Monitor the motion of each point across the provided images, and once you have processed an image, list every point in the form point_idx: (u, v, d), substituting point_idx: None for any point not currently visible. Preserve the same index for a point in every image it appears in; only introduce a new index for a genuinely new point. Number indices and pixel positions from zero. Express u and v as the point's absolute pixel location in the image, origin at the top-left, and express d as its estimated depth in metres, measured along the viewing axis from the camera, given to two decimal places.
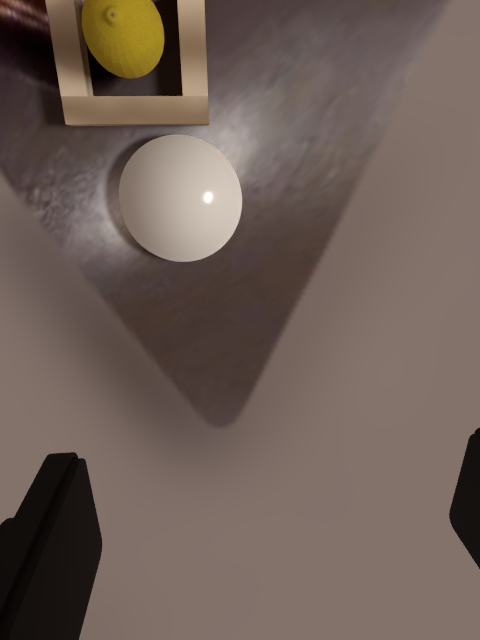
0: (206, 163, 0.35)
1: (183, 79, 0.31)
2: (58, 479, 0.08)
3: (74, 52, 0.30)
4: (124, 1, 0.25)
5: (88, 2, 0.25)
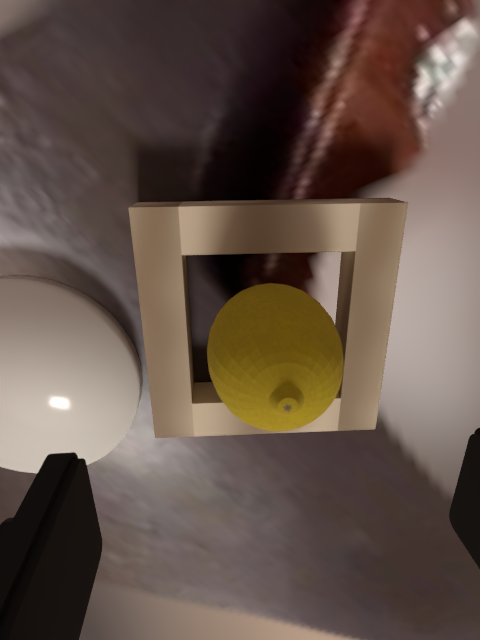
0: (97, 425, 0.21)
1: (215, 405, 0.20)
2: (58, 479, 0.08)
3: (249, 243, 0.17)
4: (308, 414, 0.14)
5: (311, 345, 0.13)
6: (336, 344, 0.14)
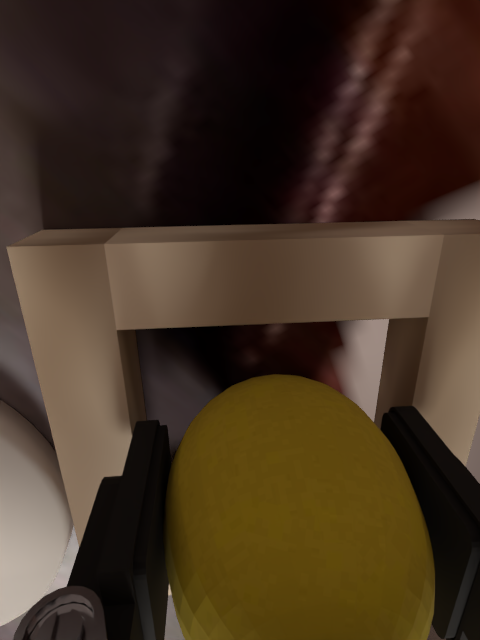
0: (1, 578, 0.13)
1: None
2: (152, 440, 0.09)
3: (240, 307, 0.09)
4: None
5: (385, 574, 0.06)
6: (425, 539, 0.07)
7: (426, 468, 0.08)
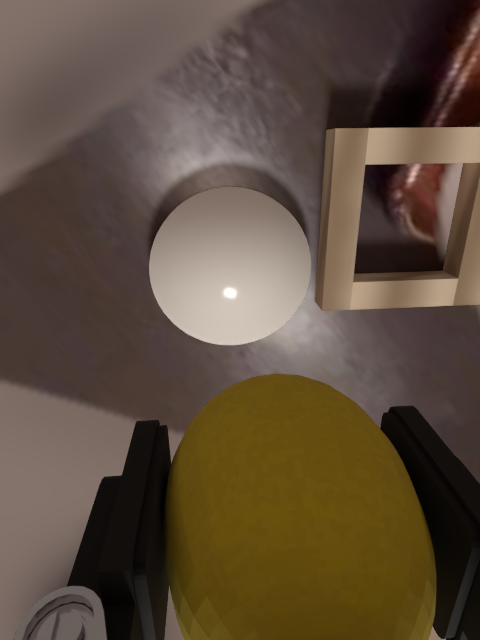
0: (276, 304, 0.28)
1: (369, 283, 0.27)
2: (152, 440, 0.09)
3: (412, 156, 0.24)
4: None
5: (386, 575, 0.06)
6: (426, 539, 0.07)
7: (426, 468, 0.08)
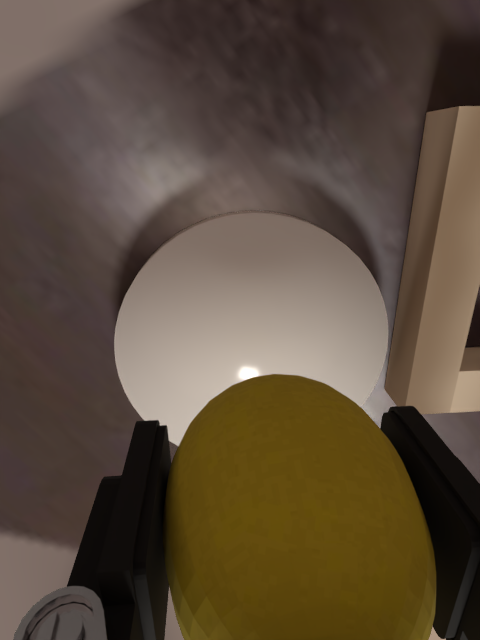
0: None
1: None
2: (152, 440, 0.09)
3: None
4: None
5: (386, 575, 0.06)
6: (426, 539, 0.07)
7: (426, 468, 0.08)
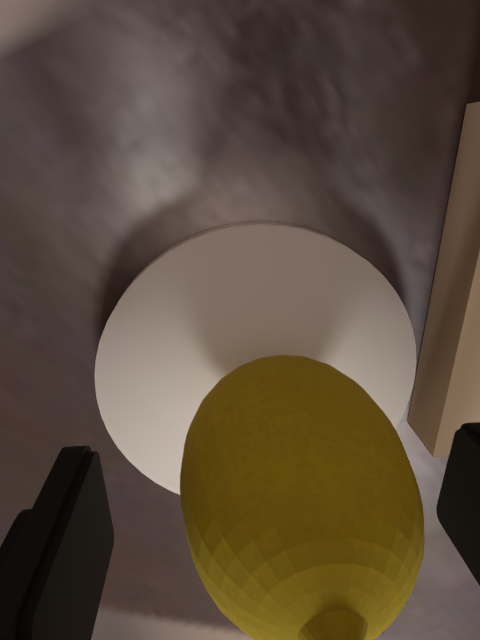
0: None
1: None
2: (74, 471, 0.08)
3: None
4: None
5: (379, 517, 0.07)
6: (415, 492, 0.08)
7: None
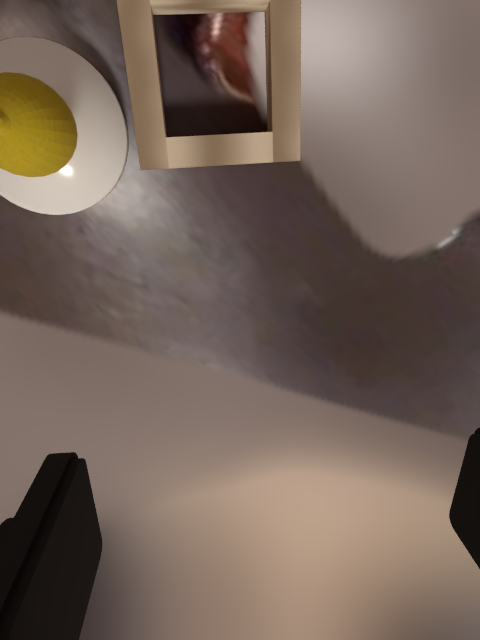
0: (97, 167, 0.28)
1: (182, 138, 0.28)
2: (58, 479, 0.08)
3: None
4: (21, 138, 0.21)
5: (15, 87, 0.20)
6: (44, 97, 0.21)
7: None
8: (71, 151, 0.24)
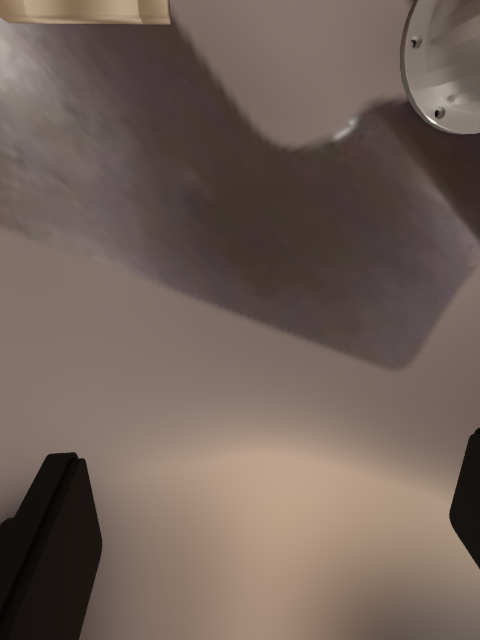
0: None
1: None
2: (58, 479, 0.08)
3: None
4: None
5: None
6: None
7: None
8: None
